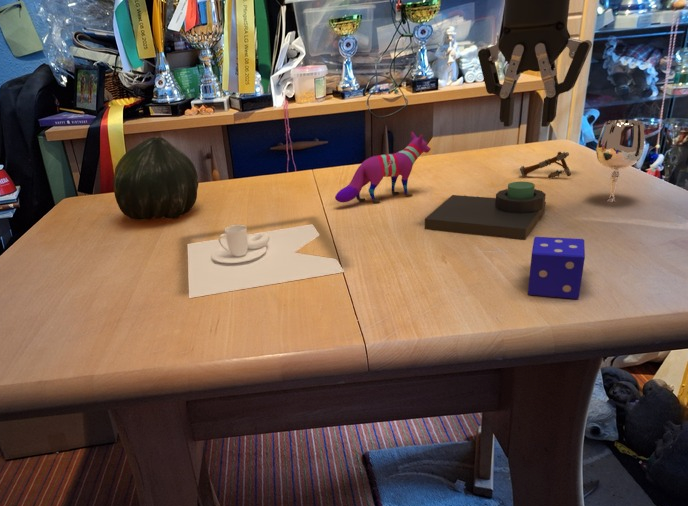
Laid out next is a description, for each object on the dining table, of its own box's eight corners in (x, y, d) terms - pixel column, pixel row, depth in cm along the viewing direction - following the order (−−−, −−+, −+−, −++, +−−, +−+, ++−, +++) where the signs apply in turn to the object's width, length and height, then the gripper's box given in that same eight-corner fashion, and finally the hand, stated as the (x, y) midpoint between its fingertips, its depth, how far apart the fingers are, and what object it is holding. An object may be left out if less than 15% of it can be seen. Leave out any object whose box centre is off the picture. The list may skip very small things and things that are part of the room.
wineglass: (589, 212, 81) (602, 127, 76) (587, 200, 86) (598, 119, 81) (635, 213, 79) (651, 126, 74) (630, 200, 84) (644, 118, 79)
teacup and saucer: (268, 240, 85) (264, 214, 83) (276, 259, 78) (272, 231, 76) (210, 249, 84) (206, 223, 82) (213, 269, 77) (208, 242, 75)
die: (578, 280, 63) (584, 238, 61) (578, 300, 59) (585, 256, 57) (530, 276, 65) (534, 236, 63) (527, 295, 61) (531, 253, 59)
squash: (112, 181, 106) (100, 128, 93) (190, 171, 110) (190, 118, 97) (125, 246, 101) (114, 199, 88) (206, 232, 105) (208, 185, 92)
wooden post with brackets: (575, 174, 95) (566, 150, 94) (528, 191, 100) (519, 167, 99) (577, 171, 97) (568, 147, 96) (530, 188, 102) (521, 165, 101)
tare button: (536, 193, 82) (537, 182, 81) (530, 201, 79) (531, 189, 78) (510, 192, 84) (511, 180, 83) (504, 199, 81) (504, 187, 80)
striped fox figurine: (435, 192, 98) (436, 132, 93) (340, 212, 93) (336, 149, 89) (424, 187, 101) (425, 129, 96) (332, 206, 97) (327, 145, 92)
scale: (546, 212, 83) (549, 189, 82) (527, 240, 75) (529, 215, 73) (452, 204, 91) (453, 183, 89) (424, 229, 82) (424, 206, 81)
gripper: (607, -25, 68) (588, 120, 76) (488, -11, 76) (481, 120, 83) (598, -25, 63) (578, 132, 70) (470, -9, 70) (465, 130, 78)
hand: (526, 124), depth 77 cm, fingers open, 4 cm apart
